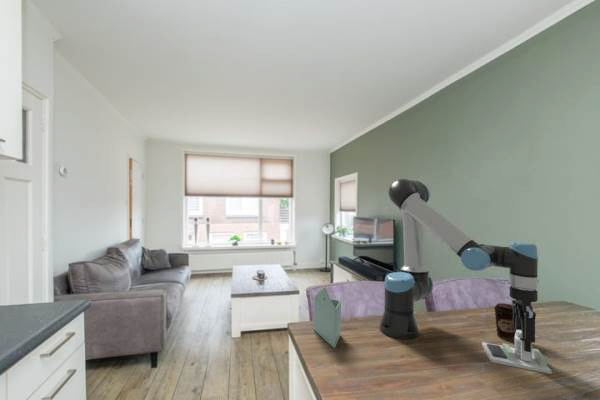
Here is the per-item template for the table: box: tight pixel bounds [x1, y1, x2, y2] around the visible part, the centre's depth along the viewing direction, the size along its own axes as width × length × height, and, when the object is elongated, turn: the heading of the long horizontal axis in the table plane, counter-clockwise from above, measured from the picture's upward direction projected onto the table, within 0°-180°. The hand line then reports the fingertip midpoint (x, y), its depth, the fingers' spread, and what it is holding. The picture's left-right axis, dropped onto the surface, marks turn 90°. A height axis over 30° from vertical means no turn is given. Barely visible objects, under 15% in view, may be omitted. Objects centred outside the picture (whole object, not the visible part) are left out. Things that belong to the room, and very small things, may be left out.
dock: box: [481, 341, 552, 375], centre depth 95 cm, size 16×13×4 cm
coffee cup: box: [493, 302, 516, 342], centre depth 111 cm, size 9×8×13 cm
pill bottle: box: [514, 330, 522, 358], centre depth 93 cm, size 5×5×8 cm
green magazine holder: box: [313, 286, 342, 349], centre depth 108 cm, size 16×8×20 cm, turn 24°
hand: (523, 356), depth 93 cm, fingers closed on pill bottle, 5 cm apart
